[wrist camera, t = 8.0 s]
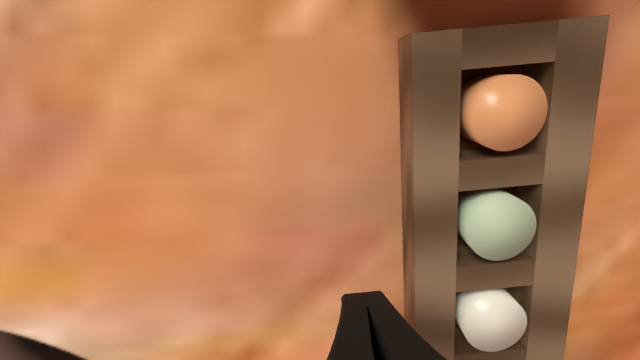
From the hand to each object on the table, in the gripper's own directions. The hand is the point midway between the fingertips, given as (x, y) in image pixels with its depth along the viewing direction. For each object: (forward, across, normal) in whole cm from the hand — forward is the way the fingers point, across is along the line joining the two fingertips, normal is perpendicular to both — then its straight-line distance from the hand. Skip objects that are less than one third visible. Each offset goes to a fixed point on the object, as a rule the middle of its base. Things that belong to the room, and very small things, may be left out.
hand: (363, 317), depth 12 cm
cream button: (+9, -8, +7) cm, 14 cm away
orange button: (+9, -8, -5) cm, 13 cm away
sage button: (+9, -8, +1) cm, 12 cm away
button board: (+9, -8, +1) cm, 12 cm away
